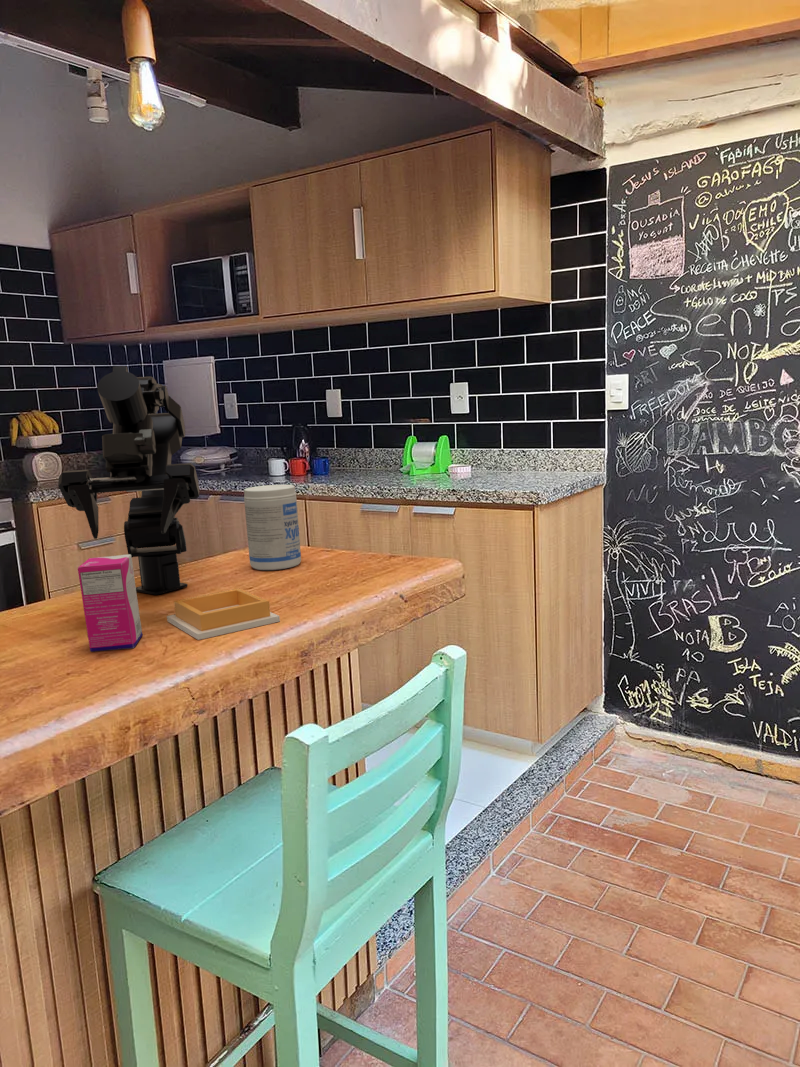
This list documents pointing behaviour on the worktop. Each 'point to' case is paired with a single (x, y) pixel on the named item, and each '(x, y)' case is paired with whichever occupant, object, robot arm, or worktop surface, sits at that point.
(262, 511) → the supplement tub
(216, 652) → the worktop surface
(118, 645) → the supplement box
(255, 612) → the collar socket
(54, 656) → the worktop surface
